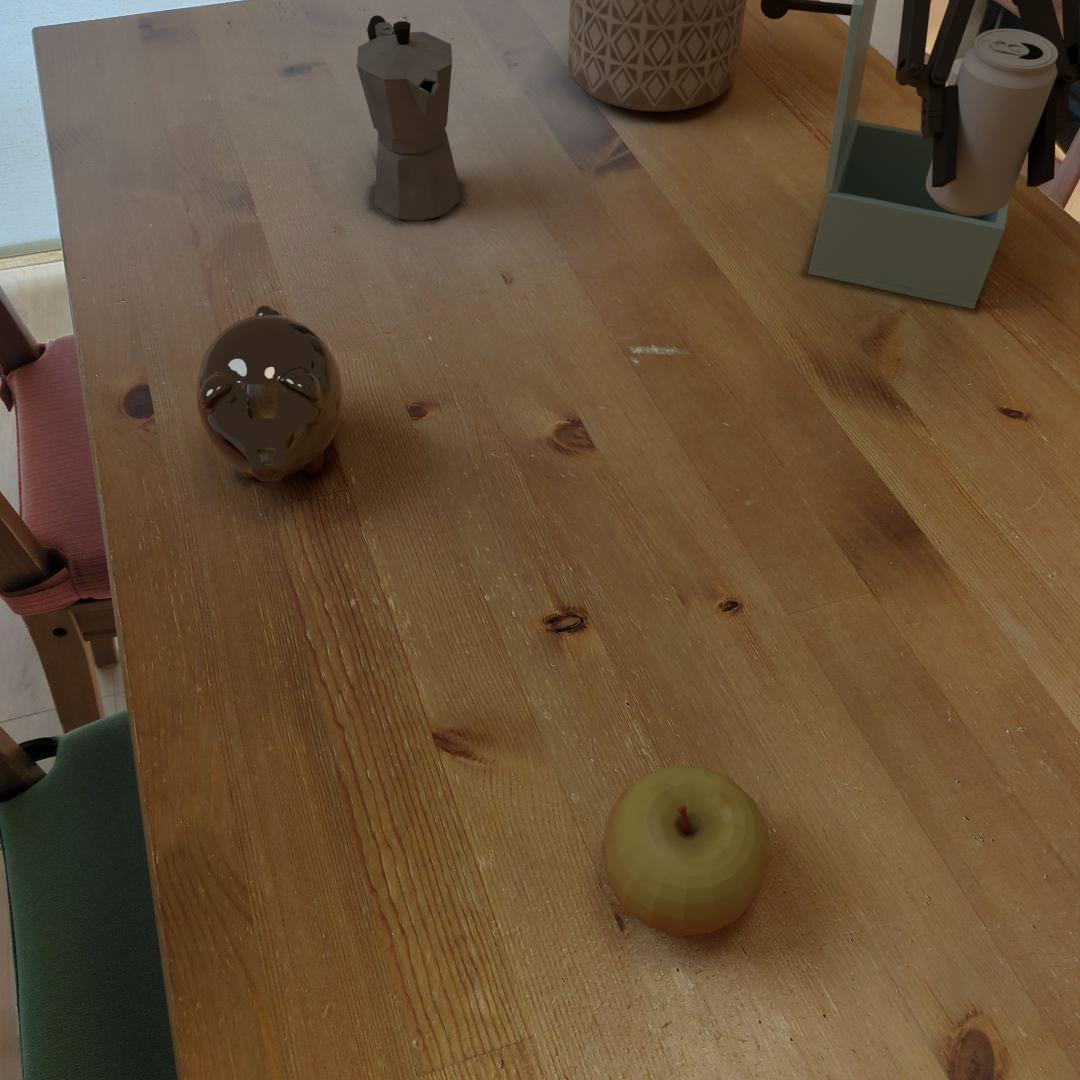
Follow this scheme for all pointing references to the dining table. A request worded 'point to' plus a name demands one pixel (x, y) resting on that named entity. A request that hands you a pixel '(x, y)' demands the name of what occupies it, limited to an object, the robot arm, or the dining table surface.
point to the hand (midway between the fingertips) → (992, 182)
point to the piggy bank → (270, 395)
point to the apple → (685, 850)
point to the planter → (655, 50)
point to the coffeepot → (409, 119)
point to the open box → (901, 223)
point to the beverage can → (996, 118)
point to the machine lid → (859, 33)
